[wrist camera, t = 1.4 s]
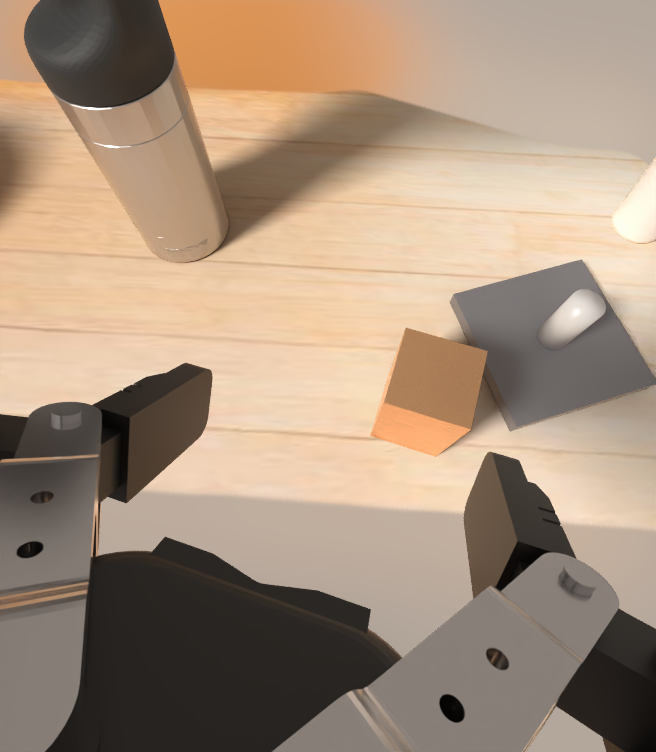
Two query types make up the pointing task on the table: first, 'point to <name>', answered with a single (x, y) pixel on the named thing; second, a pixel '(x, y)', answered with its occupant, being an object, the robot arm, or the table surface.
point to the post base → (541, 368)
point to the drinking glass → (638, 210)
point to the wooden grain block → (430, 393)
